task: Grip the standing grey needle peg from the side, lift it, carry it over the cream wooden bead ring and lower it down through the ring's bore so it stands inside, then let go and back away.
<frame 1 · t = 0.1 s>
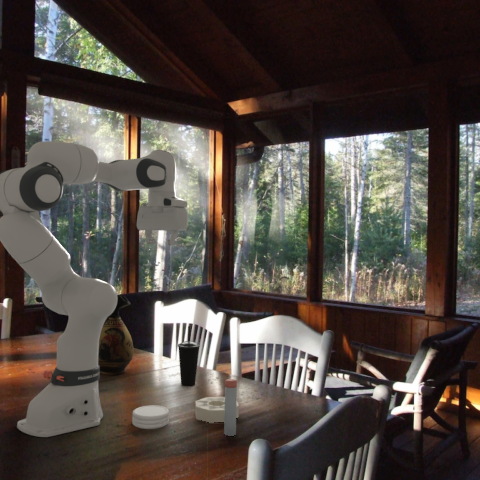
hand: (160, 244, 170), 48 cm above the table, tool pointing down, fingers open, 8 cm apart
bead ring: (216, 415, 151), on the table
white short cylinder: (150, 424, 144), on the table
drinking cup: (188, 384, 182), on the table
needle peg: (229, 434, 136), on the table
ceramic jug: (110, 372, 197), on the table
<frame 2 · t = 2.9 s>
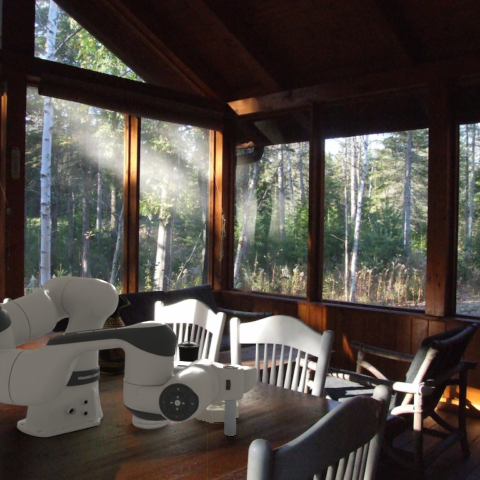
hand: (219, 366, 124), 20 cm above the table, tool horizontal, fingers open, 8 cm apart
nothing on the table moved.
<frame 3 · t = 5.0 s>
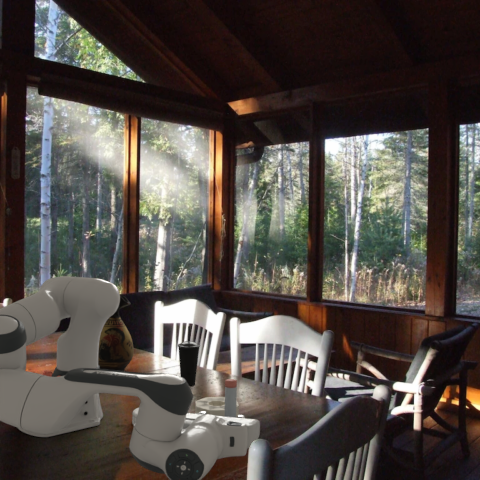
hand: (222, 416, 127), 8 cm above the table, tool horizontal, fingers open, 8 cm apart
nothing on the table moved.
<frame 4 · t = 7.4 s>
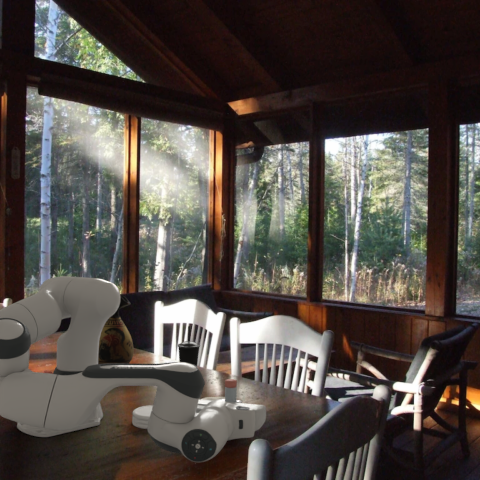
hand: (231, 402, 137), 8 cm above the table, tool horizontal, fingers closed on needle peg, 3 cm apart
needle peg: (229, 434, 136), on the table, touching gripper
everything else where it was.
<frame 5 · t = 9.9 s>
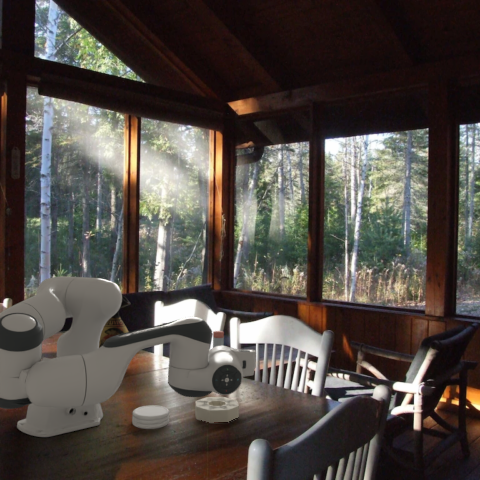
hand: (217, 352, 152), 18 cm above the table, tool horizontal, fingers closed on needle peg, 3 cm apart
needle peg: (217, 380, 151), point 10 cm above the table, touching gripper
everything else where it was.
when the fingers open (9 cm above the table, at t = 12.1 s): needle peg drops 1 cm, resting in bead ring.
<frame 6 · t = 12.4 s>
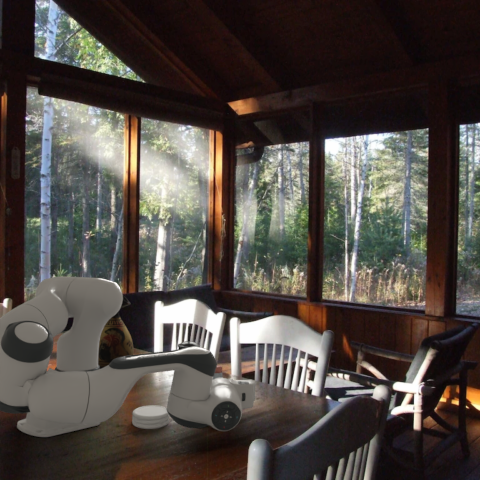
hand: (217, 381, 152), 9 cm above the table, tool horizontal, fingers open, 6 cm apart
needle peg: (216, 415, 151), resting in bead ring
everything else where it was.
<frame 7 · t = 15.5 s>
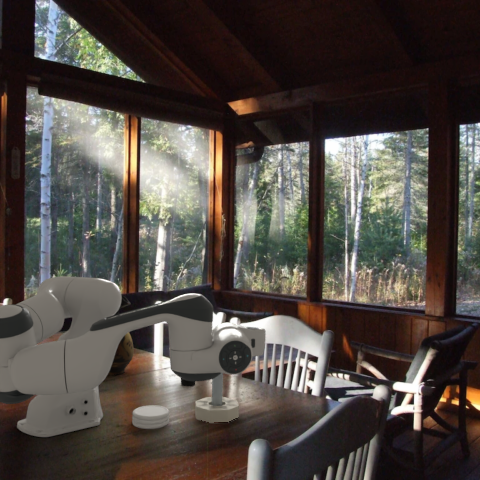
hand: (223, 331, 139), 26 cm above the table, tool horizontal, fingers open, 8 cm apart
nothing on the table moved.
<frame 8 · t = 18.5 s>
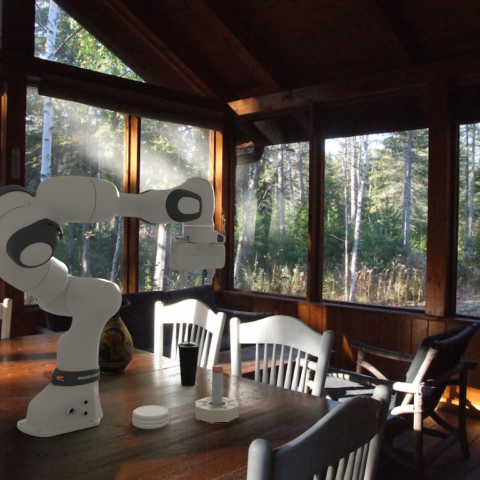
hand: (197, 285, 149), 37 cm above the table, tool pointing down, fingers open, 8 cm apart
nothing on the table moved.
at the end: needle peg 0.0 cm from the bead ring (horizontally); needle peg resting in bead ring; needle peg tilted 0° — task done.
